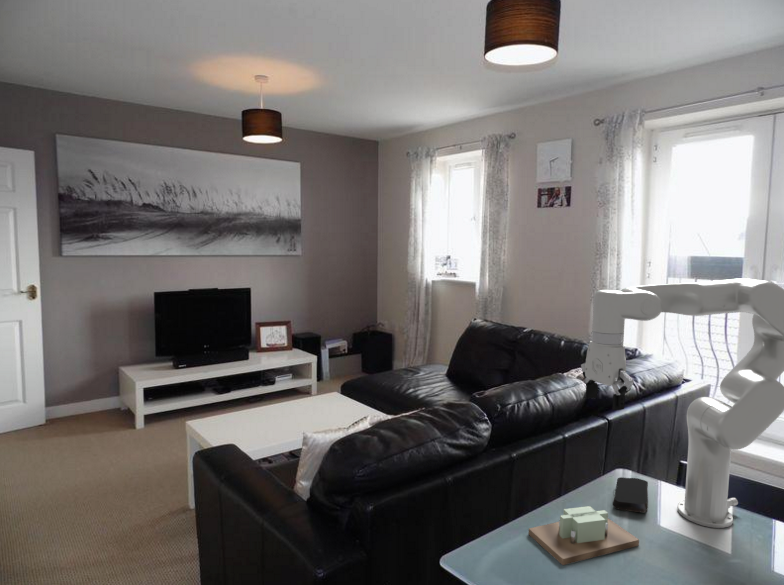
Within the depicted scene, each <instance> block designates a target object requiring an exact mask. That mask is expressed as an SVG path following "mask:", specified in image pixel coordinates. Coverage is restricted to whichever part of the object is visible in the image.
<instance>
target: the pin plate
mask: <svg viewBox="0 0 784 585" xmlns="http://www.w3.org/2000/svg"><path fill="white" fill-rule="evenodd" d="M559 531H560V519H559V521H556V522H551V523H547V524H544V525H539V526H534V527H529V528H528V533H527V534H528V535H529V536H530V537H531V538H532V539H533V541H535V542H537V543H538V545H540V546H541V547H542V548H543V549H544V550H545V551H546V552H548V554H550V556H552V557H553V558H554V560H556V561H557V562H558V563H559V564H560V565H562V566H565V565H569V564H573V563H577V562H581V561H585V560H589V559H592V558H596V557H600V556H603V555H609V554H611V553H616V552H619V551H620V552H621V551H623V550H626V549H631V548H634V547H635V548H636V547H639V546H640V539H639V538H637V537H636V536H634V534H632V533H630V532H629V531H628V530H626V529H625V528H623V527H621V526H620V525H619V524H617V523H616V522H614V521H613V520H611V519H610V518H609V517H608V523H607V522H605V540H598V541H590V542H583V543H577V542H576V541H575V533H576V531H575V530H571V537H570V538H561V536H560V535H559Z"/></svg>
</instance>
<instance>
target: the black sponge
mask: <svg viewBox="0 0 784 585" xmlns="http://www.w3.org/2000/svg"><path fill="white" fill-rule="evenodd" d="M648 482H649V481H647V480H644V479H641V478H637V477H622V476H621V477H617V479H616V484H615V485H616V486H615V494H614V498H613V501H612V506H613V507H614V508H615V509H616V510H618V511H619V510H621V511H630V512H635V513H647V512H648V508H649V507H648V506H649V505H648V503H649V500H648V498H649V497H648V495H649V494H648V493H649V490H648V489H649V488H648V487H649V486H648V485H649V483H648Z"/></svg>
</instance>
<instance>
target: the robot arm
mask: <svg viewBox="0 0 784 585" xmlns="http://www.w3.org/2000/svg"><path fill="white" fill-rule="evenodd" d="M592 305H593V306H592V325H591V326H592V327H591V329H592V330H591V340H590V341H589V344H588V347H587V351H586V358H585V362H584V363H582V364H580V368H581V371H582V376H583V378H584V381H583V382H584V383H585V399H589V400H590V399H596V398H597V396H598V395H597V394H598V383H599V384H600V385H601V384H602V385H605V386H607V387H610V386H611V387H612V389H613V391H614V393H615V394H614V393H613V396H612V410H614V411H621V410H625V403H626V402H625V401H626V400H625V399H626V395H627V394H628V392H629V391H631V389H632V386H633V384H634V383H635V380H634V379H633V378H632V377H631V376H630V375H629V374H628V373H627V358H626V349H625V346H624V339H625V322H626V321H625V320H634V321H640V322H643V321H644V322H648V321H651V320H654V319H656V318H657V317H659V316H660V314H661V313H670V314H676V315H683V316H693V317H702V316H712V315H720V314H721V315H722V314H735V313H746V314H751V315H752V321H751V322H752V327H753V334H754V338H753V339H754V340H753V344H752V347H751V348H750V349H749V351H748V352H747V353H746V354H745V356H744V357H743V358H742V359H741V360H740V361H739V362H738V363H737V364H736V365H735V366H734V367H733V368H732V369H731V370H730V371H729V372H728V373H727V374H726V375H725V376H724V377H723V378H722V380H721V382H720V384H719V385H720V386H719V390H720V393H721V394H722V395H723V397H724V398H726V399H727V400H728V401H730V402H732V403H733V404H734V405H732V406H731V405H730V404H728V403H726V402H724V401H722V400H720V399H717V398H715V397H711V396H701V397H698V398H695V399H694V400H693V401H692V402H690V404H689V405H688V408H687V410H686V424H687V425H686V426H687V430H688V431H687V433H688V448H687V461H686V462H687V463H686V475H685V476H686V477H685V490H684V492H685V493H684V499H683V500H681V501H679V502H678V503H677V512H678V513H679V514H680V515H681V516H682V517H683V518H684V519H686V520H688V521H689V522H692V523H694V524H697V525H701V526H703V527H709V528H715V529H716V528H717V529H722V528H724V529H725V528H728V527H731V526H732V525H733V523H734V518H733V515H732V513H730V512H729V509H730V508H731V507H735V506H737V505H738V504H739V501H738V499H737V498H736V497H730V498H728V496H729V482H730V470H731V460H732V459H731V458H732V453H731V452H732V451H731V450H733V451H734V450H737V451H739V450H742V449H744V448H746V447H748V446H750V445H751V444H752V443H753V442H755V441H756V440H757V439H758V438H759V437H760V436H761V435H762V434H763V433H764V432H765V431H766V430H767V429H769V427H770V426H772V424H773V423H774V422H775V421H776V420H777V419H779V418H780V416H781V415H782V414H783V413H784V384H782V383H781V382H780V381H778V379H779V377H780V376H781V375H782V374H783V372H784V288H782V286H779V285H778V284H776V283H774V282H772V281H769V280H762V279H754V278H747V277H746V278H740V277H739V278H730V279H720V280H719V279H718V280H709V281H708V280H706V281H699V282H679V283H678V282H677V283H667V284H666V283H665V284H648V285H647V284H646V285H637V286H629V287H624V288H623V289H621V290H617V289H600V290H597V291H595V292H594V295H593V303H592Z"/></svg>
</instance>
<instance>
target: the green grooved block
mask: <svg viewBox="0 0 784 585" xmlns="http://www.w3.org/2000/svg"><path fill="white" fill-rule="evenodd" d="M608 518H609V512H608V511H606V510H605V509H603V510H595V509H594V508H593V507H591V505H589V506H588V505H587V506H580V507H572V508H569V507H568V508H563V513H562V514H561V515H559V520H560V531H559V535H560V536H561V538H570V537H571V530H575V531H576V533H575V541H576V542H577V543H583V542H590V541H598V540H605V522H607V523H608Z"/></svg>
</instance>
